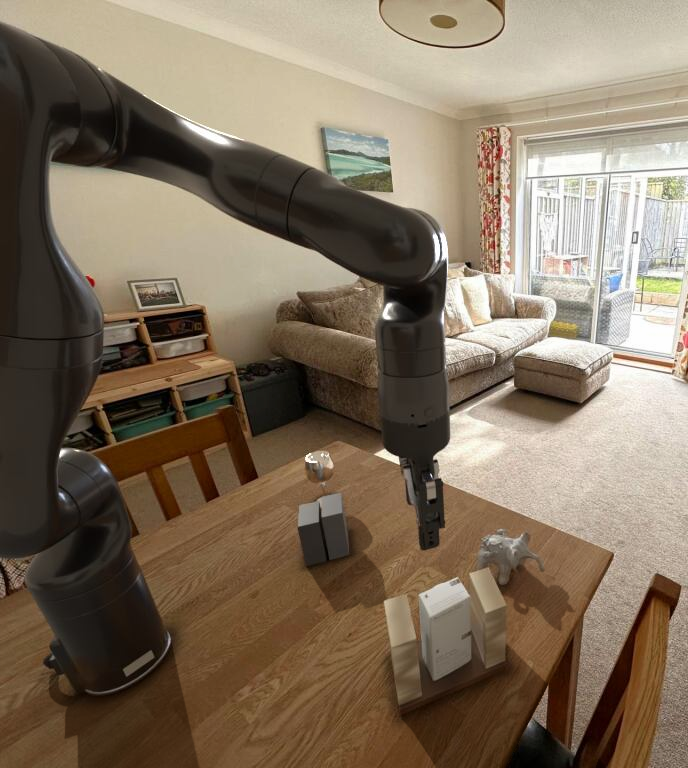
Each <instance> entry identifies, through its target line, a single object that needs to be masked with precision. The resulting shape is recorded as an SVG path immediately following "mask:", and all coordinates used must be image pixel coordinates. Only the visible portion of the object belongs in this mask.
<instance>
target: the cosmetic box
mask: <svg viewBox="0 0 688 768" xmlns="http://www.w3.org/2000/svg"><path fill="white" fill-rule="evenodd" d="M417 597H418V609H419V623H420V639H421V642H422V652H423V659H424V661H425V663H426V666H427V668H428V670H429V673H430V675H431V677H432V679H433V681H435V680H438V679H440V678H442V677H443V676H445V675H447V674H449V673H451V672H453V671H454V670H456V669H458V668H459V667H461V666H463V665H464V664H466V663H467V662H469V661H470V660H471V597H470V593H469V592H468V591H467V589H466V588H465V586H464V584H463V583H462V581H461V580H460V578H459V576H457V577H455V578H452V579H450V580H448V581H445V582H441V583H439V584H436V585H435V586H433V587H432V588H430V589H428V590H425V591H423V592H421V593H419V594H418V596H417Z"/></svg>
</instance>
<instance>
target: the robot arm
mask: <svg viewBox="0 0 688 768" xmlns="http://www.w3.org/2000/svg"><path fill="white" fill-rule="evenodd" d="M51 163H54V164H55V163H57V164H61V165H62V164H63V165H66V166H73V167H81V168H100V169H107V170H112V171H117V172H122V173H126V174H131V175H135V176H139V177H144V178H148V179H153V180H156V181H159V182H162V183H165V184H168V185H171V186H174V187H176V188H178V189H180V190H183V191H185V192H187V193H190V194H192V195H194V196H196V197H198V198H200V199H201V200H203V201H204V202H206V203H207V204H209V205H210V206H212V207H213V208H215V209H216V210H218V211H219V212H222V213H223V214H225V215H227V216H228V217H230V218H232V219H234V220H236V221H238V222H239V223H242V224H245V225H247V226H249V227H251V228H254V229H256V230H258V231H261V232H262V233H265V234H268V235H270V236H273V237H275V238H278V239H280V240H283V241H286V242H288V243H290V244H294V245H297V246H299V247H302V248H304V249H307V250H311V251H314V252H317V253H318V254H320V255H322V256H323V257H324V258H326V259H327V260H329V261H330V262H332V263H334V264H335V265H338V266H339V267H341V268H343V269H345V270H347V271H348V272H350V273H352V274H354V275H355V276H358V277H360V278H362V279H363V280H366V281H369V282H371V283H373V284H375V285H376V284H377V285H379V286H382V307H381V310H380V312H379V314H378V316H377V318H376V320H375V324H374V341H375V349H376V350H375V352H376V361H377V386H376V387H377V398H378V399H377V400H378V410H379V411H378V412H379V422H380V430H381V441H382V446H383V448H384V450H385V451H387V452H388V453H389V454H391V455H393V456H395V457H398V461H399V469H400V475H402V477H403V480H404V483H405V484H404V485H405V497H406V498H405V499H406V500H405V501H406V504H407V505H409V506H413V507H414V508H415V514H416V519H415V522H416V525H417V532H418V544H419V548H420V550H421V551H429V550H431V549H435V548H438V547H439V546H440V530H441V529H444V528H446V518H445V502H444V501H445V499H444V481H443V479H442V477H439V474H440V465H439V459H438V458H434V457H435V456H436V455H437V454H438V453H440V452H441V451H443V450H444V449H445V448H446V447H447V446H448V445H449V443H450V441H451V408H450V382H449V378H448V377H449V376H448V371H447V370H448V369H447V345H446V344H447V343H446V331H445V330H446V329H445V308H446V297H447V285H448V269H449V253H448V252H449V251H448V243H447V238H446V235H445V233H444V229H443V228H442V226H441V225H440V223H439V222H438V220H436V219H435V217H433V216H432V215H431V214H429V213H428V212H426V211H423V210H421V209H418V208H412V207H405V206H401V205H398V204H395V203H393V202H389V201H387V200H384V199H381V198H378V197H376V196H374V195H370V194H368V193H365V192H363V191H360V190H359V189H356V188H353V187H350V186H347V185H346V184H345V183H344V182H343V181H342V180H340V179H339V178H337V177H335V176H333V175H331V174H330V173H328V172H325V171H323V170H322V169H319V168H316V167H314V166H312V165H310V164H307V163H305V162H302V161H301V160H297V159H295V158H292V157H290V156H288V155H285V154H284V153H281V152H278V151H275V150H274V149H271V148H268V147H265V146H262V145H260V144H258V143H255V142H251V141H249V140H246V139H243V138H240V137H237V136H234V135H230V134H228V133H224V132H221V131H218V130H215V129H212V128H210V127H207V126H205V125H203V124H200V123H199V122H196V121H193V120H191V119H189V118H187V117H185V116H183V115H181V114H179V113H177V112H175V111H173V110H171V109H169V108H167V107H165V106H163V105H162V104H160V103H158V102H157V101H155V100H153V99H151V98H150V97H148V96H147V95H145V94H143V93H142V92H140V91H138V90H137V89H135V88H133V87H132V86H130V85H128V84H127V83H125V82H123V81H122V80H120V79H118V78H117V77H115V76H114V75H112V74H111V73H109V72H107V71H105V70H104V69H103V68H101V67H99V66H97V65H96V64H95V63H93V62H92V61H90V60H89V59H87V58H85V56H82V55H80V54H78V53H76V52H75V51H73V50H70V49H68V48H66V47H64V46H61V45H59V44H57V43H54V42H52V41H50V40H47V39H45V38H43V37H41V36H38V35H37V34H34V33H31V32H29V31H27V30H24V29H22V28H20V27H17V26H16V25H13V24H10V23H8V22H6V21H3V20H1V19H0V559H7V560H15V559H16V560H17V559H25V558H28V557H32V556H34V557H33V558H32V559H31V561H30V562H29V564H28V565H27V568H26V570H25V572H24V583H25V586H26V588H27V590H28V591H29V594H30V595H31V597H32V598H33V600H34V602H35V603H36V605H37V607H38V609H39V611H40V612H41V614H42V616H43V617H44V619H45V621H46V623H47V624H48V626H49V627H50V630H51V631H52V633H53V635H54V636H53V638H52V639H51V641H50V643H49V644H48V649H49V651H50V652H51V653H49V654H48V655H46V656H45V657H44V658H43V662H42V664H43V665H44V666H45V667H46V668H47V669H49V670H53V671H54V672H55V674H56V676H61V675H64V676H65V677H66V679H67V680H68V682H69V684H70V685H71V687H72V689H73V691H74V693H75V694H76V695H77V696H80V695H83V694H88V695H89V696H90V695H91V696H93V697H104V696H110V695H113V694H114V695H115V694H117V693H119V692H122V691H124V690H126V689H128V688H130V687H133V686H135V685H136V684H137V683H139V682H141V681H142V680H143V679H145V678H146V677H148V676H149V675H150V674H151V673H152V672H154V671H155V670H156V669H157V668H158V667H159V665H160V664H161V663H162V662H163V661H164V659H166V656H167V655H168V653H169V651H170V649H171V646H172V637H171V634H170V633H169V631H168V629H167V627H166V625H165V623H164V621H163V618H162V615H161V613H160V611H159V608H158V606H157V604H156V601H155V600H154V597H153V595H152V592H151V589H150V586H149V585H148V582H147V581H146V577H145V574H144V573H143V571H142V568H141V566H140V563H139V562H138V559H137V557H136V555H135V552H134V549H133V547H132V544H131V540H132V537H133V526H132V523H131V519H130V516H129V513H128V510H127V505H126V503H125V501H124V497H123V494H122V491H121V488H120V485H119V483H118V481H117V479H116V477H115V475H114V474H113V472H112V471H111V469H110V467H108V466H107V464H106V463H105V462H104V461H103V460H101V459H100V458H99V457H97V456H95V455H94V454H92V453H90V452H88V451H86V450H84V449H79V448H75V447H74V448H73V447H63V445H64V442H65V440H66V437H67V435H68V434H69V432H70V430H71V428H72V426H73V424H74V422H75V421H76V419H77V417H78V415H79V414H80V413H81V410H82V409H83V407H84V405H85V403H86V402H87V401H88V398H89V397H90V394H91V393H92V391H93V389H94V387H95V385H96V382H97V380H98V377H99V375H100V372H101V370H102V364H103V357H104V336H105V335H104V334H105V313H104V308H103V304H102V302H101V300H100V298H99V296H98V294H97V292H96V290H95V289H94V287H93V286H92V284H91V282H90V281H89V279H88V278H87V277H86V275H85V274H84V273H83V271H82V270H81V268H80V267H79V266H78V264H77V263H76V262H75V260H74V259H73V258H72V256H71V255H70V253H69V252H68V251H67V249H66V247H65V246H64V245H63V242H62V241H61V239H60V237H59V235H58V233H57V230H56V227H55V224H54V219H53V215H52V205H51V204H52V203H51V192H50V191H51V190H50V174H51V173H50V171H51Z"/></svg>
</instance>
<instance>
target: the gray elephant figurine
mask: <svg viewBox="0 0 688 768" xmlns="http://www.w3.org/2000/svg"><path fill="white" fill-rule="evenodd" d="M480 540H481V541H480V549H479V551H478V554H477V566H476V571H478V570H481V569H485V568H487V566H488V565H489V564H491V563H492V564H493V565H497V566H498V567H499V575H498V577H497V578H498V580H497V581H498V584H499V585H500V586H504V585H507V584H508V582H509V581H510V574H511V572H512V571H511V570H512V569H513V570H516V568H517V566H523V565H524V564H526V562H527V559H532V560H535V561H536V562H537V564H538V566H539V571H540V572H541V573H543V572H544V571H545V566H544V565H543V562H542V560H541V558H540V556H538V555H537V554H535V553H533V552H531V551H530V550H529V548H528V545H529V543H530V540H531V536H530V534H529V533H528V532H523V533H521V535H520V536H519V537H516V538H510V537H509V536H506V530H505V529H502V528H500V529H497V530H496V534H493V535H492V534H489V533H488V534H487V535H485V536H484V537H483V538H482V537H481V538H480Z"/></svg>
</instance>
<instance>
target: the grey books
mask: <svg viewBox="0 0 688 768" xmlns="http://www.w3.org/2000/svg"><path fill="white" fill-rule="evenodd" d="M321 497H322V508H321V507H320V502H319V501H317V500H316V501H317V502H316V501H313V502H308V503H304V504H303V503H302V504H299V505H298V514H297V525H296V528H297V530H298V537H299V541H300V546H301V549H302V555H303V559H304V564H305V567H309V566H314V565H318V564H321V563H324V562H327V559H329V561H332V560H336V559H340V558H343V557H346V556H350V546H349V545H350V544H349V543H350V542H349V531H348V526H347V520H346V514H345V509H344V501H343V495H342V492H338V493H333V494H328V496H327V495H326V496H324V495H323V496H321ZM327 553H328V554H327ZM327 555H328V558H327Z"/></svg>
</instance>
